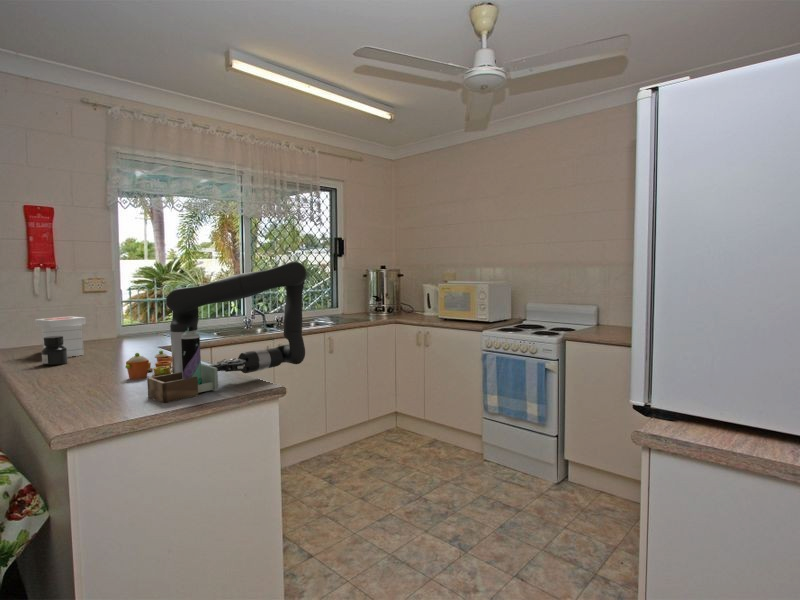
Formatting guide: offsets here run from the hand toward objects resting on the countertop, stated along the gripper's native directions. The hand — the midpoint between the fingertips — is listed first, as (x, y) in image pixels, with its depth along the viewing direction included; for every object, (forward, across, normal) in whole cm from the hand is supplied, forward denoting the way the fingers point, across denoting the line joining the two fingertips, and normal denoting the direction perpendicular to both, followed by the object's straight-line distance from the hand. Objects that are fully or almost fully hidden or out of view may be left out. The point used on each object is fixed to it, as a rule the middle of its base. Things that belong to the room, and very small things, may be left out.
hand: (208, 369), depth 155 cm
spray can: (+6, 0, +5) cm, 8 cm away
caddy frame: (+11, 0, +6) cm, 13 cm away
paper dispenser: (+12, -124, +7) cm, 125 cm away
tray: (+6, 0, +6) cm, 9 cm away
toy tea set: (+2, -42, +7) cm, 43 cm away
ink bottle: (+21, -96, +7) cm, 98 cm away
